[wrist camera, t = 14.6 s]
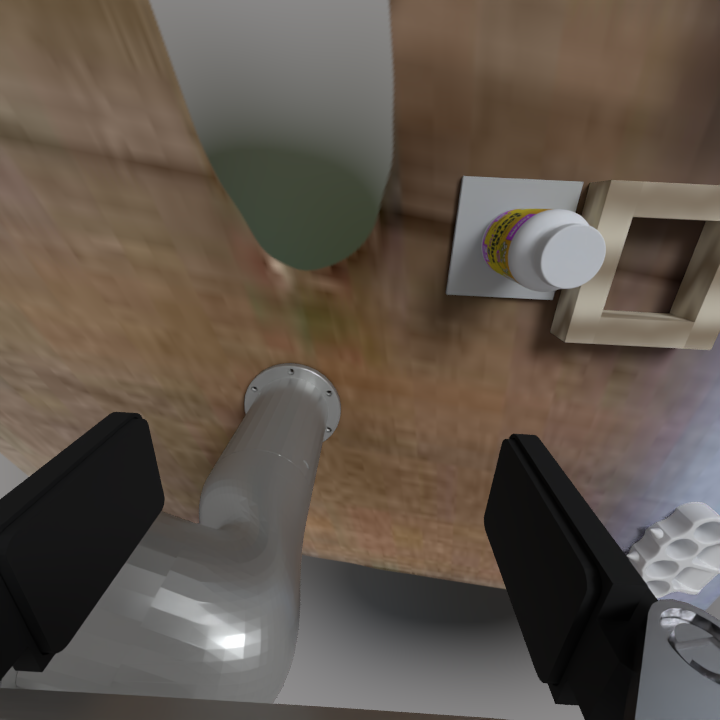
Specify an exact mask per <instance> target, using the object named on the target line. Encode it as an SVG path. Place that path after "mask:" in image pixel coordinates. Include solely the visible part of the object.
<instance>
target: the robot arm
mask: <svg viewBox="0 0 720 720" xmlns="http://www.w3.org/2000/svg"><path fill="white" fill-rule="evenodd" d="M291 369H293V371H292V370H291ZM329 391H331V392H329ZM244 407H245V413H246V416H245V417H244V419H243V420H242V422H241V424H240V425H239V427H238V429H237V430H236V432H235V433H234V435H233V437H232V438H231V440H230V442H229V443H228V445H227V446H226V448H225V450H224V451H223V453H222V454H221V456H220V458H219V459H218V461H217V463H216V464H215V466H214V468H213V469H212V471H211V473H210V474H209V476H208V478H207V480H206V482H205V484H204V486H203V489H202V493H201V496H200V504H199V522H200V524H199V523H198V524H195V523H193V522H190V521H187V520H185V519H182V518H179V517H176V516H174V515H171V514H168V513H165V512H163V511H162V508H163V505H164V493H163V489H162V484H161V480H160V475H159V471H158V466H157V462H156V457H155V453H154V448H153V444H152V439H151V434H150V430H149V425H148V422H147V421H146V420H145V419H142V417H141V415H140V414H138V413H125V412H113V413H111V414H109V415H108V416H107V417H105V418H104V419H103V420H102V421H100V422H99V423H98V424H96V425H95V426H94V427H93V428H91V429H90V430H89V431H87V432H86V433H85V434H84V435H82V436H81V437H80V438H79V439H77V440H76V441H75V442H73V443H72V444H71V445H70V446H68V447H67V448H66V449H64V450H63V451H62V452H61V453H59V454H58V455H57V456H55V457H54V458H53V459H52V460H50V461H49V462H48V463H46V464H45V465H44V466H43V467H41V468H40V469H39V470H37V471H36V472H35V473H34V474H32V475H31V476H30V477H28V478H27V479H26V480H25V481H24V482H22V483H21V484H19V485H18V486H17V487H16V488H14V489H13V490H12V491H10V492H9V493H8V494H7V495H5V496H4V497H3V498H1V499H0V720H505V719H494V718H481V717H465V716H452V715H437V714H421V713H408V712H393V711H378V710H364V709H348V708H334V707H318V706H302V705H286V704H272V703H273V702H274V701H275V699H276V698H277V696H278V694H279V693H280V691H281V689H282V687H283V685H284V682H285V680H286V678H287V675H288V673H289V670H290V667H291V664H292V660H293V657H294V653H295V647H296V642H297V636H298V630H299V618H300V576H301V556H302V546H303V538H304V532H305V526H306V521H307V515H308V510H309V506H310V501H311V496H312V491H313V486H314V482H315V477H316V472H317V467H318V463H319V458H320V453H321V448H322V443H323V442H324V441H325V440H327V439H328V438H329V437H330V436H331V435H332V434H333V432H334V431H335V429H336V428H337V425H338V423H339V420H340V414H341V403H340V398H339V395H338V393H337V391H336V389H335V387H334V386H333V384H332V383H331V382H330V381H329V380H328V379H327V378H326V377H325V376H324V375H323V374H321V373H320V372H318V371H317V370H315V369H313V368H310V367H308V366H305V365H301V364H294V363H285V364H278V365H274V366H271V367H269V368H267V369H265V370H263V371H262V372H261V373H259V374H258V375H257V376H256V377H255V378H254V380H253V381H252V382H251V384H250V385H249V387H248V389H247V392H246V394H245V400H244ZM484 526H485V530H486V533H487V536H488V539H489V542H490V545H491V547H492V550H493V553H494V556H495V559H496V561H497V564H498V567H499V570H500V573H501V575H502V578H503V581H504V584H505V587H506V589H507V592H508V595H509V597H510V600H511V603H512V606H513V609H514V612H515V614H516V617H517V620H518V623H519V626H520V628H521V631H522V634H523V637H524V640H525V642H526V645H527V648H528V651H529V653H530V656H531V659H532V662H533V665H534V668H535V670H536V673H537V675H538V677H539V679H540V680H541V681H542V682H543V683H548V685H549V688H550V691H551V694H552V696H553V699H554V701H555V704H565V705H579V707H580V709H581V712H582V714H583V716H584V719H585V720H720V620H718V619H717V618H715V617H714V616H712V615H710V614H709V613H707V612H706V611H704V610H702V609H700V608H697V607H695V606H693V605H691V604H688V603H685V602H681V601H677V600H673V599H666V600H659V601H658V600H657V598H656V597H655V596H654V594H653V593H652V592H651V590H650V589H649V588H648V585H647V584H646V582H645V581H644V580H643V578H642V577H641V576H640V574H639V573H638V572H637V570H636V569H635V567H634V566H633V565H632V563H631V562H630V561H629V559H628V558H627V557H626V555H625V554H624V553H623V551H622V550H621V549H620V547H619V546H618V544H617V543H616V542H615V540H614V539H613V538H612V536H611V535H610V534H609V532H608V531H607V530H606V528H605V527H604V526H603V524H602V523H601V521H600V520H599V519H598V517H597V516H596V515H595V513H594V512H593V511H592V509H591V508H590V507H589V505H588V504H587V503H586V501H585V500H584V498H583V497H582V496H581V494H580V493H579V492H578V490H577V489H576V488H575V486H574V485H573V484H572V482H571V481H570V479H569V478H568V477H567V475H566V474H565V473H564V471H563V470H562V469H561V467H560V466H559V465H558V463H557V462H556V461H555V459H554V458H553V456H552V455H551V454H550V452H549V451H548V450H547V448H546V447H545V446H544V444H543V443H542V442H541V440H540V439H539V438H538V437H537V436H536V435H525V434H512V435H511V436H510V437H509V439H504V440H503V442H502V446H501V450H500V454H499V458H498V462H497V466H496V470H495V474H494V478H493V482H492V487H491V491H490V495H489V499H488V503H487V507H486V511H485V515H484Z"/></svg>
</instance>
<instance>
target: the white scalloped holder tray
mask: <svg viewBox="0 0 720 720" xmlns="http://www.w3.org/2000/svg"><path fill="white" fill-rule="evenodd" d="M626 556H627V557H629V561H630V562H631V563H632V565H633V566H634V567H635V569H636V570H637V572H638V573H639V574H640V576H641V577H642V578H643V580H644V581H645V582H646V584H647V585H648V588H649V589H650V590H651V592H652V593H653V594H654V596H655V597H656V598H660V597H663V596H665V595H667V594H669V593H672V592H678V591H680V592H683V593H687V594H695V595H697V594H698V593H699V592H700V591H701V590H702V588H703V587H704V586H705V585H706V584H707V583H708V582H710V581H711V580H712V579H713V578H714V577H715V576H716V575H717V574H718V573H720V515H718V514H717V513H716V512H715V511H714V510H713V509H712V508H711V507H709V506H708V505H707V504H705V503H701V502H690V503H686V504H683V505H681V506H679V507H677V508H676V510H675V511H674V513H673V514H672V515H671V516H669V517H668V518H666V519H664V520H662V521H659V522H656V523H655V524H653V525H652V526H651V527H649V528H648V529H646V530H645V534H644V536H643V537H642V539H641V540H639V541H638V542H637V543H635V544H633V545H632V547H631V549H630V551H629V553H628V554H627V555H626Z"/></svg>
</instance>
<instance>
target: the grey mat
mask: <svg viewBox="0 0 720 720" xmlns="http://www.w3.org/2000/svg"><path fill="white" fill-rule="evenodd" d="M582 186H583V182H574V181H553V180H533V179H512V178H491V177H470V176H463V177H462V182H461V189H460V196H459V203H458V210H457V217H456V224H455V231H454V239H453V246H452V253H451V260H450V267H449V274H448V281H447V288H446V294H447V295H465V296H485V297H504V298H524V299H543V300H553V297H554V293H555V291H549V292H539V291H534V290H530V289H528V288H525V287H523V286H522V285H520V284H518V283H516V282H514V281H512V280H510V279H508V278H506V277H505V276H503V275H501V274H499V273H497V272H495V271H494V270H492V269H491V268H490V267H489V266H488V265H487V264H486V262H485V261H484V258H483V256H482V251H481V242H482V237H483V234H484V232H485V230H486V228H487V226H488V225H489V224H490V222H491V221H492V220H493V219H494V218H495V217H497V216H498V215H500V214H501V213H503V212H505V211H508V210H512V209H564V210H569V211H572V212H576V209H577V205H578V201H579V197H580V193H581V189H582Z"/></svg>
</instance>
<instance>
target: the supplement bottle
mask: <svg viewBox="0 0 720 720" xmlns="http://www.w3.org/2000/svg"><path fill="white" fill-rule="evenodd" d="M481 251H482V256H483V258H484V261H485V262H486V264H487V265H488V266H489V267H490V268H491V269H492V270H494V271H495V272H497V273H499V274H501V275H503V276H505V277H506V278H508V279H510V280H512V281H514V282H516V283H518V284H520V285H522V286H523V287H525V288H528V289H530V290H534V291H539V292H549V291H555V290H558V289H571V288H576V287H579V286H581V285H583V284H585V283H586V282H588V281H589V280H591V279H592V278H593V277H594V276H595V275H596V274H597V272H598V271H599V270H600V268H601V266H602V264H603V261H604V258H605V254H606V245H605V241H604V238H603V237H602V235H601V234H600V232H599V231H598V230H597V229H595V228H593V227H591V226H590V225H589V224H588V222H587V221H586V220H585V219H584V218H583V217H582V216H580V215H579V214H577V213H575V212H572V211H569V210H564V209H512V210H508V211H505V212H503V213H501V214H500V215H498V216H497V217H495V218H494V219H493V220H492V221H491V222H490V224H489V225H488V226H487V228H486V230H485V232H484V234H483V237H482V242H481Z"/></svg>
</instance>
